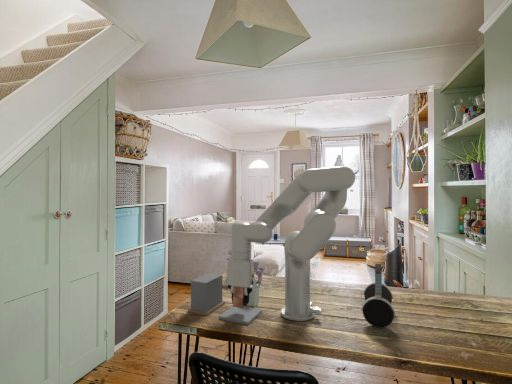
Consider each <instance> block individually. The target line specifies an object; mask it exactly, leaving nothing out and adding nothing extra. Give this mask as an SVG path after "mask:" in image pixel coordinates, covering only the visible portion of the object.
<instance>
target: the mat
mask: <svg viewBox="0 0 512 384" xmlns="http://www.w3.org/2000/svg"><path fill="white" fill-rule="evenodd" d="M262 313H263V309H259V308H254V307H250V306H248V307H247V306H245V307H244V308H238V307H233V306H231V307H230V308H228V309H227V310H225V311H224V312H222V313H221V314H219V316H218V319H220V320H224V321H228V322H233V323H236V324H242V325H247V326H249V325H250V324H251V323H252V322H253V321H255V319H257V318H258V317H259V316H260V315H261V314H262Z"/></svg>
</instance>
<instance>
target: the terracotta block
mask: <svg viewBox="0 0 512 384" xmlns="http://www.w3.org/2000/svg"><path fill="white" fill-rule="evenodd" d="M244 295H245V293H244V288H242V287H236V286H233V304H232V307H238V308H244V307H246V306H243V296H244Z"/></svg>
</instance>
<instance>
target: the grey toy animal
mask: <svg viewBox="0 0 512 384" xmlns="http://www.w3.org/2000/svg"><path fill="white" fill-rule="evenodd" d="M229 258H231V256H230V257H227V258H226V260H227V261H229ZM252 260H253V265H254V271H255V276H257V279H258V280H257V281H258V283H257V284H259V285H261V284H262V280H263V279H262V278H263V271H264V267H263V266H260V261H259V260H254V259H252Z"/></svg>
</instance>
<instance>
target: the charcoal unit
mask: <svg viewBox="0 0 512 384" xmlns="http://www.w3.org/2000/svg"><path fill="white" fill-rule="evenodd" d="M225 304H226V301H224V300H223V275H222V274H216V273H206V274H203V275H201V276H199V277H196V278H193V279H192V280H190V307H189V308H187V312H188V313H193V314H198V315H203V316H209V315H210V314H212V313H214V312H215V311H217V310H218V309H220V308H221V307H222V306H224V305H225Z"/></svg>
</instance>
